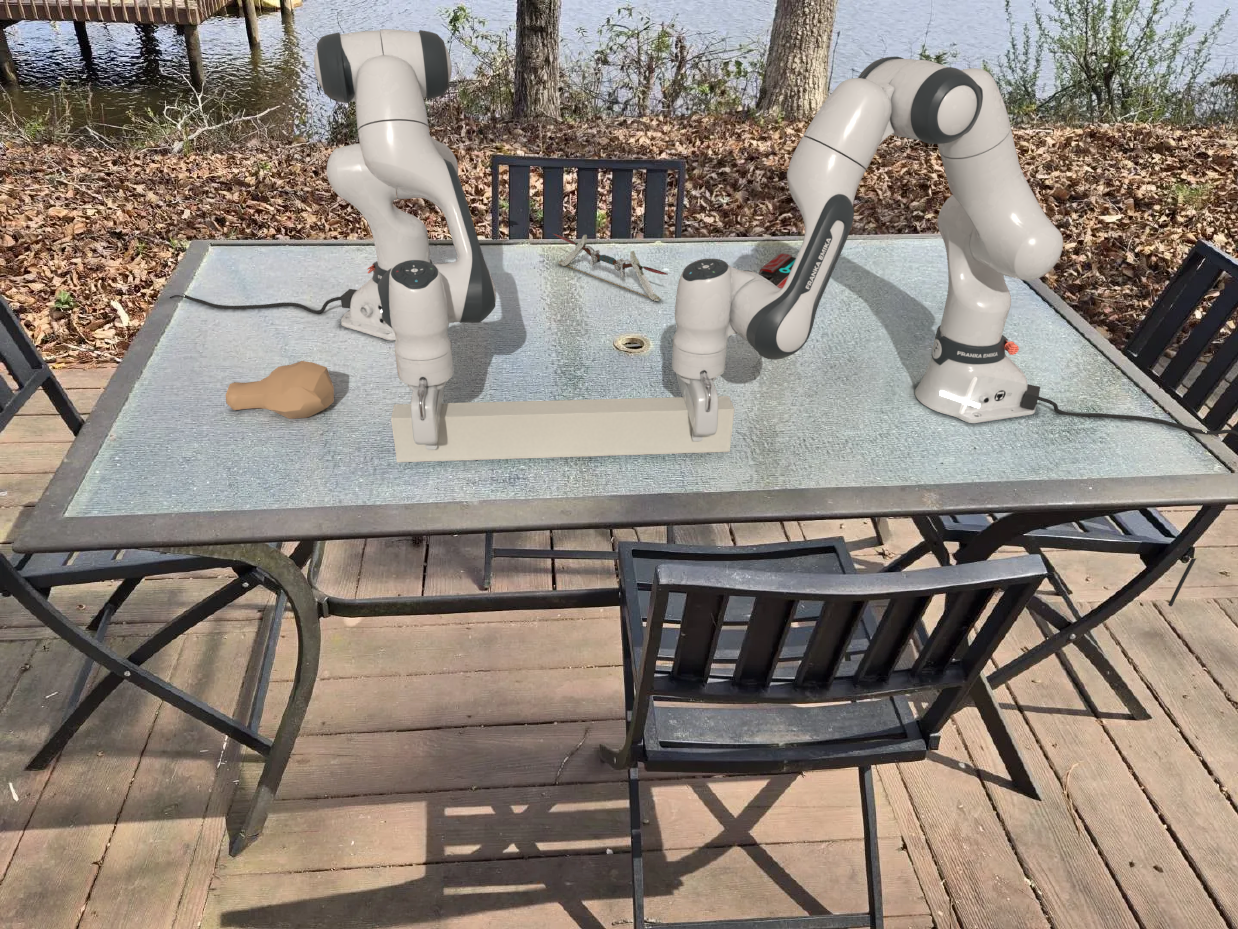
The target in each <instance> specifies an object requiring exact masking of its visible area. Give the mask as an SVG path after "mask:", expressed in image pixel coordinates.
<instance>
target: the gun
mask: <svg viewBox="0 0 1238 929" xmlns="http://www.w3.org/2000/svg"><path fill="white" fill-rule="evenodd" d="M795 260H796V257H795V256H793V255H792V254H791V253H784V252H780V253H778V254H777V255H775V256H774V257H773V258H771V259H770V260H768V261H767V262H766V263H765V264H763V265H762V266H761V267H760V269H759V271H758V273H757V274H759V275H761V276H763V277H764V278H766V279H767V280H769V281H770V282H772V283H773V284H774V285H775V286H777V287H778V288H780V289H782V288H783V287H784V285H785V283H786V281H787V278H788V276H789V274H790V271H791V269H792V267H793V264H794V262H795Z"/></svg>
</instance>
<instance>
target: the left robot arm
mask: <svg viewBox="0 0 1238 929" xmlns="http://www.w3.org/2000/svg"><path fill="white" fill-rule="evenodd" d="M445 44H446V43H445V40H444V39H443V38H442V37H441V36H440V35H439V34H438V33H436V32H433V31H427V30H424V29H423V30H422V29H419V31H414V30H413V31H412V30H405V29H391V28H390V29H388V28H387V29H384V28H383V29H378V30H377V29H376V30H365V31H364V30H363V31H362V30H361V31H354V32H346V33H340V32H334V33H330V34H326V35H323V36H321V37H320V38H319V40H318V41H317V43H316V49H315V52H314V56H313V67H314V73H315V76H316V77H315V78H316V80H317V82H318V84H319V86H320V87H321V89H322V90H323V93H324V95H325V96H327V97H328V98H329V99H330V100H332V101H335V102H338V103H343V104H350V102H354V103H355V115H356V116H355V118H356V127H357V135H358V140H359V143H354V144H348V145H344V146H341V147H338V148H335V149H333V151H332V152H331V153H330V155H329V157H328V159H327V162H326V163H327V164H326V176H327V181H328V183H329V186H330V188H332V190H333V191H334V193H335V194H336V195H337V196H338V197H339V198H341V199H343V200H344V201H346V202H348V203H349V204H350V205H352V206H353V207H354V208H355V209H356V210H357V211H358V212H359V213H360V214H361V215H362V216H363V218H364V220H365V221H366V222H367V224H368V226H369V229H370V231H371V235H372V240H373V243H374V248H375V253H376V254H375V255H376V261H374V262H373V263H372V265H371V266H369V267H368V268H367V274H370V273H372V277H371V278H370V279H369V280H367V282H365V283H364V284H363V285H362V286H360V287H359V288H358V289H355V288H348V290H346V291H345V292H343V294H342V295H340V296H335V297H332V298H330V299H327V300H326V301H325V302H324V303H323V305H322V307H321V308H320V309H318V310H316V309H312V308H310V307H308V306H306V305H304V304H301V303H299V302H273V303H266V304H264V303H263V304H248V305H247V304H245V305H226V304H225V305H223V304H217V303H213V302H209V301H207V300H203V299H200V298H196V297H192V296H190V295H188V294H185V293H183V294H184V295H185V297H182V296H180V297H181V298H184V299H185V300H189V301H192V302H196V303H200V304H203V305H205V306H208V307H211V308H216V309H224V310H248V309H249V310H251V309H253V310H254V309H267V308H277V307H296V308H300V309H303V310H305V311H307V312H309V313H311V314H314V315H320V314H323V313H324V312H325V310H326V309H327V307H328V305H329V304H331V303H333V302H338V301H340V304H341V308H342V309H349V310H347V311H346V313H344V314H343V316H342V317H341V320H340V324H341V326H342V327H344V328H347V329H350V330H354V331H357V332H360V333H364V334H367V335H370V336H373V337H377V338H380V339H383V340H387V341H394V355H395V356H394V357H395V363H396V364H395V365H396V371H397V377H398V379H399V381H400V382H402V383H403V384H405V385H407V387H408V388H409V389H410V390H412V392H411V398H410V404H411V420H412V430H413V439H414V442H415V443H416V444H419V445H426V449H427V450H435V449H437V440H438V432H439V424H440V417H441V409H442V403H443V400H444V393H445V386H446V385H447V382H448V381H449V380H450V379H451V378H452V377H453V375H454V373H455V370H454V359H453V348H452V342H451V339H450V336H449V331H448V330H449V325H450V324H454V323H459V324H480V323H481V322H483V321H484V320H485V319H487V318H488V316H489V315H491V313H492V312H493V311H494V309H495V308H496V301H497V292H496V285H495V282H494V279H493V277H492V274H491V272H490V270H489V268H488V266H487V262H486V259H485V256H484V253H483V250H482V248H481V244H480V241H479V237H478V235H477V231H476V230H477V229H476V227H475V224H474V221H473V217H472V214H471V210H470V207H469V204H468V201H467V197H466V194H465V191H464V188H463V185H462V182H461V179H460V176H459V163H458V160H457V157H456V156H455V154H454V152H453V151H452V149H451V148H450V147H449V146H448V145H446V144H445V143H443V142H440V141H438V140H437V139H436V138H434V137H432V136H431V135H430V127H429V121H428V120H429V119H428V115H427V114H428V113H427V110H426V104H425V100H424V99H426V100H432V99H435V98H439V97H442V96H444V95H445V94H446V92H447V91H448V90H449V84H450V81H451V78H452V72H453V66H452V58H451V56H450V52H449V50H448V48H447V46H446V45H445ZM411 199H425V200H427V201H429V202H431V203H433V204H434V205H435V206H437V207H438V208H439V209H440V211H441V212H442V213H443V215H444V218H445V221H446V223H447V227H448V231H449V234H450V237H451V240H452V243H453V247H454V250H455V255H456V257H457V258H456V260H455V261H452V262H445V263H443V262H442V263H433V260H432V259H431V253H430V243H429V232H428V229H427V226H426V225H425V223H424V222H423V221H422V220H421V219H420V218H419V217H417V216H415V215H414V214H411V213H408V212H406V211H403V210H401V209H399V208H398V207H397V206H396V205H395V204H394V202H395V201H396V200H411ZM421 419H422V420H421Z"/></svg>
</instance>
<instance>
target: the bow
mask: <svg viewBox="0 0 1238 929" xmlns="http://www.w3.org/2000/svg"><path fill="white" fill-rule="evenodd" d="M552 235H554V236H556V237H557V238H559V239H561V240H563V241H565V242H567V243H569V244H572V245H575V247H574V249H573V250H572V251H571V252H570V253H569V254H568V255H567V256H566V258H565V260H559V261H557V263H558V265H560V266H562V267H568V268H570V269H573V270H574V271H575V270H576V271H577V272H581V273H582V274H585V275H589V276H591V277H594V278H597V279H598V280H602V281H604V282H607V283H609V284H612V285H615V286H617V287H620V288H623V289H626V290H628V291H631V292H633V293H636V294H638V295H641V296H644V297H647V298H649V299H651V300H652V301H654V302H659V301H662V298H661V297H660V296H659V295H657V294H656V293H655V292H654V290H653V287H652V284H651V283H650V281H649V280H648V278H647V276H646V274H645V272H644V271H643V269H644V270H646V271H648V272H650V273H654V274H658V275H663V276H664V275H666V276H667V275H669V273H668V272H664V271H661V270H659V269H656V268H653V267H648V266H643V265H641V263H640V261H639V259H638V257H637V256H636V252H635V250H631V251H630V253H629V259H624V258H623V257H621V258H619V259H616V258H615V257H613V256H610V255H606V254H600V252H601V251H600V249H596V250H595V249H594V248H593V247H592V246H590V245H587V243H588V235H587V234H583V235H582V237H581V239H580V240H579V241H578V242H575V241H574V240H572V239H570V238H567V237H566V236H563V235H560V234H557V233H552ZM583 251H584V252H585V253H586V254H587V255H588V256H589V257H590V261H589V266H590V267H594V266H596V264H598V263H600V262H603V263H606V264H608V265H611V266H613V267H614V270H615V271H616V272H619V273H620V278H625V277H627V274H626V272H627V271H626V269H629V268H632V269H633V270H634V272H635V273H636V276H637V278H638V280H639V282H640V285H642V288H643V289H644V291H645V293H646V294H643V293H641V292H638V291H635V290H633V289H630V288H627V287H624V286H622V285H620V284H617V283H614V282H611V281H609V280H606V279H603V278H601V277H598V276H596V275H594V274H591V273H588V272H585V271H583V270H580V269H577V268H575V267H572V266H569V265H570V264H572V263H573V262H574V261H575V259H576V258H577V257H578V256H579V255H580V254H581V253H582V252H583Z"/></svg>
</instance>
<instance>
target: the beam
mask: <svg viewBox="0 0 1238 929" xmlns="http://www.w3.org/2000/svg"><path fill="white" fill-rule="evenodd" d="M735 411H736V410H735V407H734V404H733V402H732V400H731V397H730V396H729V395H718V424H717V431H716V433H715V434H714V435H708V436H703V440H702V441H696V442H694V441H693V440H692V437H691V429H692V428H693V427H692V424H691V421H690V418H689V415H688V411H687V408H686V405H685V402H684V399H683V396H677V397H672V396H671V397H639V398H638V397H636V398H635V397H634V398H633V397H632V398H596V399H595V398H594V399H593V398H592V399H559V400H557V399H556V400H526V401H525V400H519V401H517V400H516V401H480V402H477V401H476V402H475V401H474V402H473V401H472V402H442V409H441V417H440V424H439V432H438V440H437V449H435V450H427V449H426V445H419V444H416V443H415V442H414V439H413V430H412V420H411V403H399V404H397V403H396V404H394V405H393V409H392V413H391V417H390V420H391V427H392V436H393V444H394V450H395V458H396V463H422V462H424V463H425V462H454V461H457V462H458V461H485V460H487V461H488V460H489V461H490V460H515V459H517V460H518V459H519V460H520V459H547V458H548V459H549V458H550V459H551V458H553V459H554V458H578V457H580V458H581V457H582V458H583V457H584V458H585V457H610V456H612V457H613V456H615V457H616V456H643V455H675V454H709V453H731V444H732V435H733V427H734V426H733V425H734V419H735ZM706 412H707V411H706ZM421 420H422V419H421Z"/></svg>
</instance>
